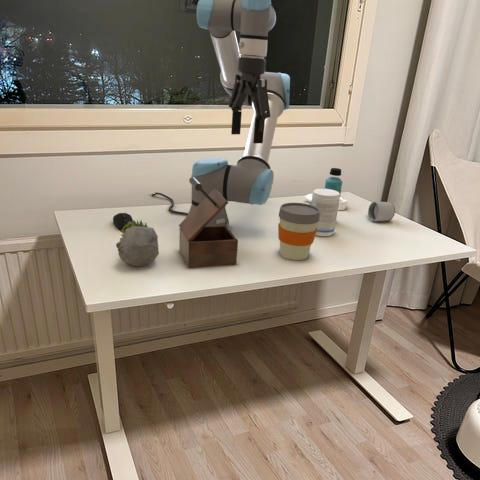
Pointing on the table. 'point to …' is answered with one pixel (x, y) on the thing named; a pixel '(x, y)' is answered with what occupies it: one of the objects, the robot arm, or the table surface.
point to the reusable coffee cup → (297, 229)
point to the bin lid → (202, 211)
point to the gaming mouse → (121, 220)
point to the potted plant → (138, 244)
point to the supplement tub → (326, 210)
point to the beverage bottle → (334, 180)
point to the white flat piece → (341, 203)
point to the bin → (209, 247)
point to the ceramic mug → (381, 211)
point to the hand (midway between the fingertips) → (246, 138)
